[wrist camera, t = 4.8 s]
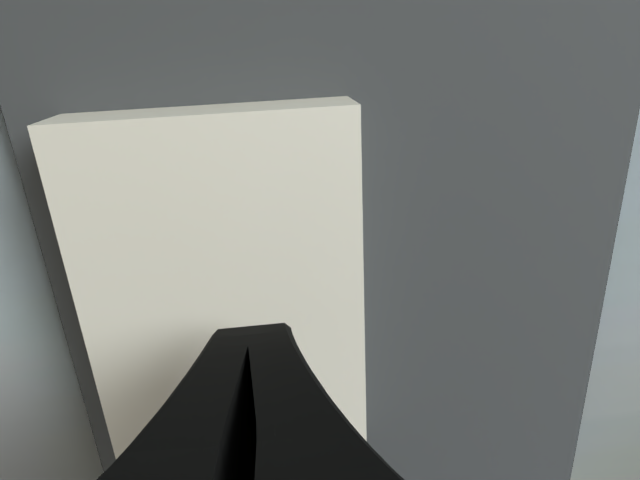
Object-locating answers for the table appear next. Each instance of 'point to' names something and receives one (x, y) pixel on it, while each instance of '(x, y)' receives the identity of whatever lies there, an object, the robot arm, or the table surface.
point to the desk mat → (398, 186)
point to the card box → (209, 240)
